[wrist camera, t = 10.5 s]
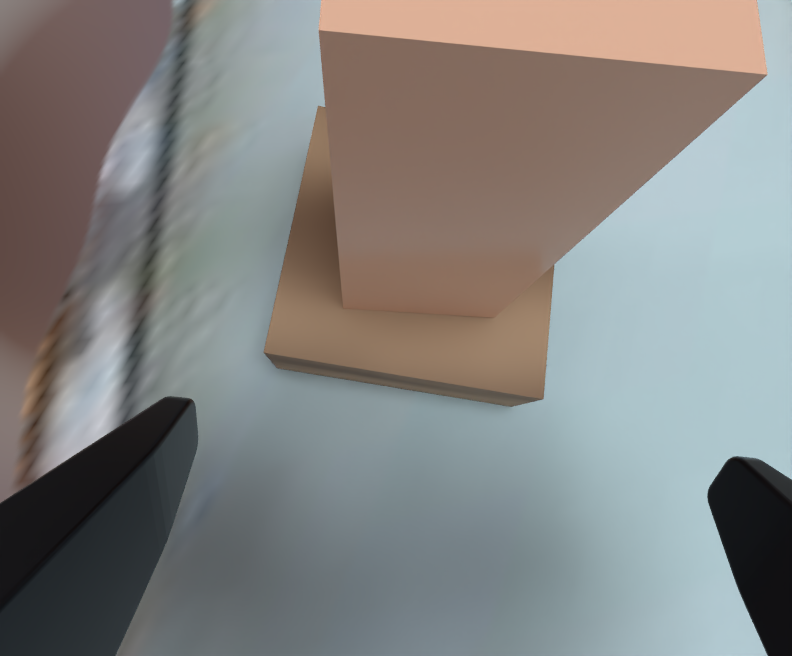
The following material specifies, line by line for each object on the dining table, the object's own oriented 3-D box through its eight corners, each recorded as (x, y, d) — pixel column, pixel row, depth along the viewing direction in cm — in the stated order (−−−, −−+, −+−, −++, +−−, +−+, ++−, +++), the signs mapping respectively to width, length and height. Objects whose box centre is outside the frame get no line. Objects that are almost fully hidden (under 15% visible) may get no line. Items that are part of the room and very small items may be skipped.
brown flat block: (508, 407, 22) (543, 399, 18) (278, 369, 21) (263, 352, 17) (528, 200, 24) (563, 153, 20) (322, 161, 24) (318, 105, 20)
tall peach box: (494, 317, 18) (767, 74, 6) (343, 308, 18) (319, 30, 6) (493, 181, 20) (721, -245, 7) (352, 169, 19) (349, -300, 7)
